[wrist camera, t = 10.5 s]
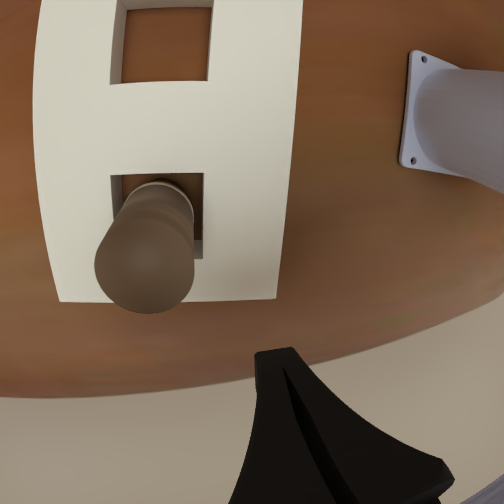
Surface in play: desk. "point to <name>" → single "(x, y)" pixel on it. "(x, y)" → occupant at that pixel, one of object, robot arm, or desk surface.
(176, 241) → the peg
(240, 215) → the board
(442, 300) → the desk surface
